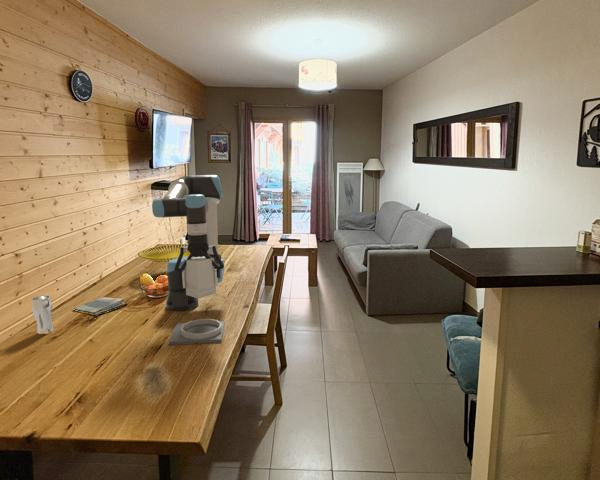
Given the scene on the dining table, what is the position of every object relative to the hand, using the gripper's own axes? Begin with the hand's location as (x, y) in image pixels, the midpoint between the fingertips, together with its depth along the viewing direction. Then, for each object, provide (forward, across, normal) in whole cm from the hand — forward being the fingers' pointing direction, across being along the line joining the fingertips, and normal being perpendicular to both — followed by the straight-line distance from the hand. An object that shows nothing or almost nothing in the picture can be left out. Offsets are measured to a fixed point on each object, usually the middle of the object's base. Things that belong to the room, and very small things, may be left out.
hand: (200, 286), depth 178 cm
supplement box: (+4, 0, 0) cm, 4 cm away
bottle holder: (+19, -2, -3) cm, 19 cm away
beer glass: (+19, -66, +9) cm, 69 cm away
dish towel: (+19, -53, +37) cm, 67 cm away
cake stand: (+17, -28, +92) cm, 97 cm away
